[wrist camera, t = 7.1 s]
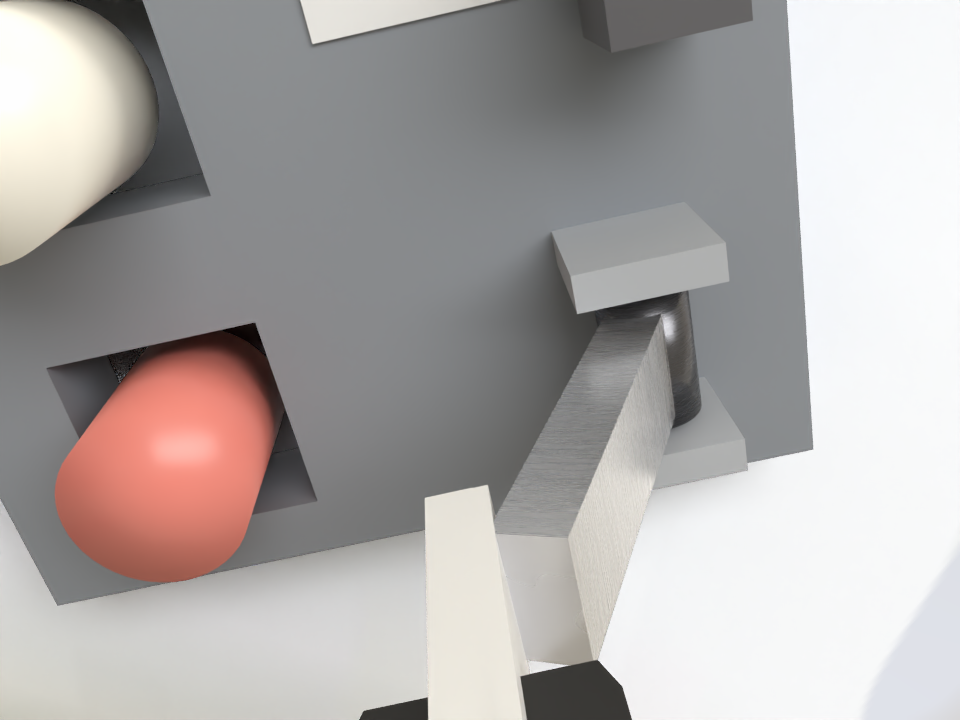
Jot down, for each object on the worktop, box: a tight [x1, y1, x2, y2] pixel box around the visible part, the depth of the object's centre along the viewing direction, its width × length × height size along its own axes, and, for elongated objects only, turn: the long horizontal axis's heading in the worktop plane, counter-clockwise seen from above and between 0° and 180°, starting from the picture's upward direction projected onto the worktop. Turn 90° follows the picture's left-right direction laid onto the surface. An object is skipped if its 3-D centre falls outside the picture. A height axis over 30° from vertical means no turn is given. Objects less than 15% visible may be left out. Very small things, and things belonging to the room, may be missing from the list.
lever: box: [493, 290, 702, 665], centre depth 16 cm, size 2×3×9 cm, turn 13°
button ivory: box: [0, 0, 159, 266], centre depth 16 cm, size 4×4×5 cm
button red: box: [55, 330, 285, 582], centre depth 21 cm, size 4×4×5 cm
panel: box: [0, 0, 813, 605], centre depth 19 cm, size 20×16×6 cm
